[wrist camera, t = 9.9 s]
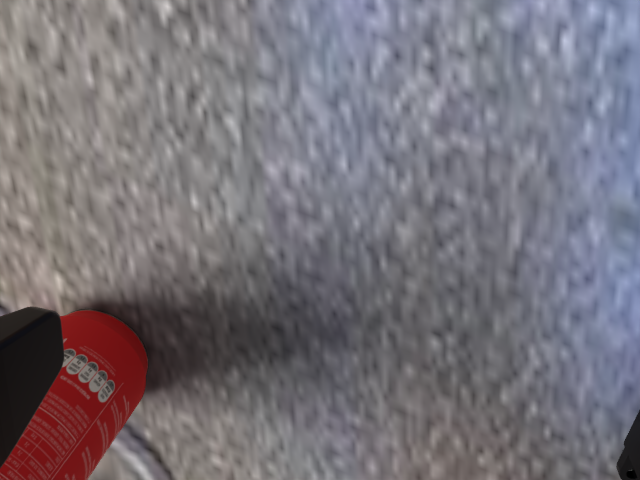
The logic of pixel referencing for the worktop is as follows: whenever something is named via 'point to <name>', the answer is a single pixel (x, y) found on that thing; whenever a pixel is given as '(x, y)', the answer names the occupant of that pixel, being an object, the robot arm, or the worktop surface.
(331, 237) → the worktop surface
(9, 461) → the beverage can
